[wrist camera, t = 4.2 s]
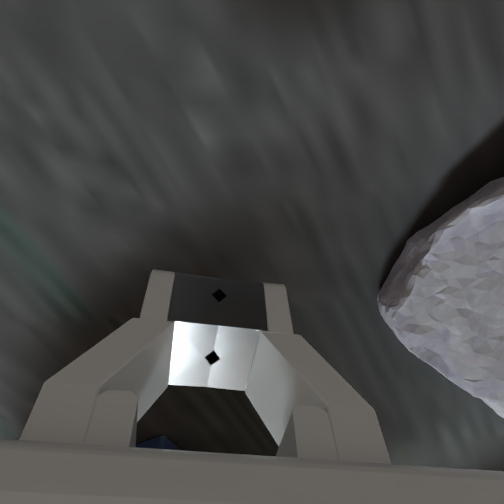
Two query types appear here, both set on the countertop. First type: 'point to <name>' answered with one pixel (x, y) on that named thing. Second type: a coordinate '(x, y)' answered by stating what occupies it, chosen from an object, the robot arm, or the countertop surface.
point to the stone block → (455, 295)
